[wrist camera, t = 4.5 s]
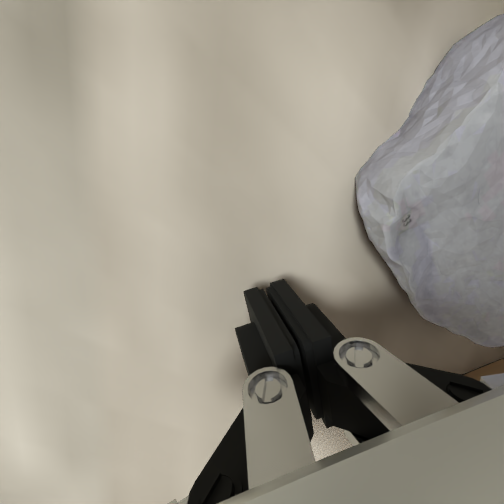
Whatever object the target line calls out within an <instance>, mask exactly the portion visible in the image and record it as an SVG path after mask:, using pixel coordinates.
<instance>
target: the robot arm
mask: <svg viewBox="0 0 504 504" xmlns="http://www.w3.org/2000/svg"><path fill="white" fill-rule="evenodd" d="M266 290H267V295H268V297H267V295H266V293H265V292H264V290H263V289H261V290H258V288H257V287H256V288H252V289H249V290H246V291H244V296H245V300H246V304H247V308H248V312H249V316H250V320H251V323H250V324H246V325H243V326H240V327H237V328H235V331H236V334H237V338H238V342H239V345H240V349H241V352H242V356H243V359H244V362H245V366H246V369H247V372H248V376H249V377H248V378H247V379H246V381H245V383H244V385H243V390H242V395H243V409H242V410H241V412H240V413H239V415H238V416H237V418H236V419H235V421H234V422H233V424H232V425H231V427H230V429H229V430H228V432H227V433H226V435H225V436H224V438H223V439H222V441H221V442H220V444H219V446H218V447H217V449H216V450H215V452H214V453H213V455H212V456H211V458H210V459H209V461H208V463H207V464H206V466H205V467H204V469H203V470H202V472H201V473H200V475H199V476H198V478H197V479H196V481H195V483H194V485H193V487H192V489H191V491H190V493H189V495H188V496H187V497H186V498H184V499H183V500H181V501H180V502H178V503H177V501H176V499H174V500H173V501H171V502H170V503H168V504H504V373H501V374H495V375H488V376H481V378H480V381H478V380H476V379H474V378H471V377H467V376H464V375H459V374H455V373H450V372H446V371H441V370H436V369H432V368H427V367H422V366H418V365H413V364H408V363H404V362H403V361H401V360H400V359H398V358H397V357H396V356H394V355H393V354H392V353H390V352H389V351H387V350H386V349H385V348H383V347H382V346H381V345H379V344H378V343H376V342H374V341H372V340H370V339H366V338H361V337H353V338H348V339H346V338H345V337H344V336H343V335H342V334H341V333H340V332H339V331H338V329H337V328H336V327H335V326H334V325H333V324H332V323H331V322H330V321H329V319H328V318H327V317H326V316H325V315H324V314H323V313H322V312H321V311H320V309H319V308H318V307H317V306H316V305H315V304H313V303H311V304H308V305H305V304H304V303H303V302H302V301H301V299H300V298H299V297H298V296H297V295H296V293H295V292H294V291H293V290H292V289H291V287H290V286H289V285H288V284H287V283H286V281H285V280H284V279H282V280H279V281H275V282H272V283H270V287H268V288H266ZM310 409H311V411H312V413H313V415H314V417H315V418H316V419H319V418H322V420H323V422H324V424H325V426H326V428H329V427H331V426H335V427H338V428H341V429H343V430H344V434H345V436H346V437H347V439H348V441H349V442H350V443H351V445H352V446H353V447H350V448H348V449H346V450H343V451H341V452H338V453H336V454H333V455H331V456H329V457H326V458H324V459H321V460H319V461H317V462H316V461H315V458H314V454H313V451H312V447H311V444H310V442H311V439H312V437H313V434H314V431H313V426H312V417H311V411H310Z"/></svg>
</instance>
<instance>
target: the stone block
mask: <svg viewBox="0 0 504 504" xmlns="http://www.w3.org/2000/svg"><path fill="white" fill-rule="evenodd" d="M355 182H356V196H357V203H358V209H359V212H360V215H361V217H362V218H363V222H364V226H365V229H366V231H367V234H368V238H369V239H370V240H371V241H372V243H373V244H374V246H375V248H376V249H377V251H378V252H379V254H380V255H381V257H382V258H383V259H384V260H385V262H386V263H387V264H388V266H389V267H390V269H391V270H392V272H393V275H394V276H395V277H396V278H397V281H398V283H399V285H400V286H401V288H402V289H403V290H405V291H406V292H407V294H408V297H409V300H410V302H411V304H412V305H413V306H414V307H415V309H416V310H417V311H418V313H419V314H420V316H421V317H422V318H423V319H425V320H427V321H429V322H431V323H433V324H436V325H438V326H441V327H445V328H446V329H447V330H449V331H450V332H452V333H454V334H457V335H461V336H464V337H466V338H468V339H469V340H471V341H473V342H474V343H475V344H479V345H482V346H486V347H500V346H504V14H502V15H498V16H496V17H494V18H493V19H491V20H490V21H488V22H486V23H485V24H483V25H482V26H480V27H479V28H477V29H475V30H474V31H472V32H471V33H470V34H468V35H467V36H465V37H464V38H462V39H461V40H459V41H458V42H457V43H455V44H454V45H453V46H452V48H451V49H450V50H449V52H448V53H447V54H446V56H445V57H444V58H443V60H442V61H441V62H440V64H439V65H438V67H437V69H436V70H435V72H434V74H433V75H432V76H431V77H430V78H429V79H428V80H427V82H426V84H425V86H424V88H423V90H422V92H421V94H420V95H419V97H418V98H417V100H416V101H415V103H414V105H413V107H412V109H411V111H410V113H409V117H408V118H407V120H406V121H405V122H404V124H403V125H402V127H401V128H400V129H399V130H398V131H397V132H396V133H395V134H394V135H392V136H391V137H390V138H389V139H388V140H387V141H386V142H384V143H383V144H382V145H380V146H379V147H378V148H377V149H376V151H375V152H374V153H373V154H372V156H371V157H370V158H369V160H368V161H367V162H366V163H365V164H364V165H363V166H362V167H361V169H360V171H359V172H358V174H357V176H356V177H355Z"/></svg>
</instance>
